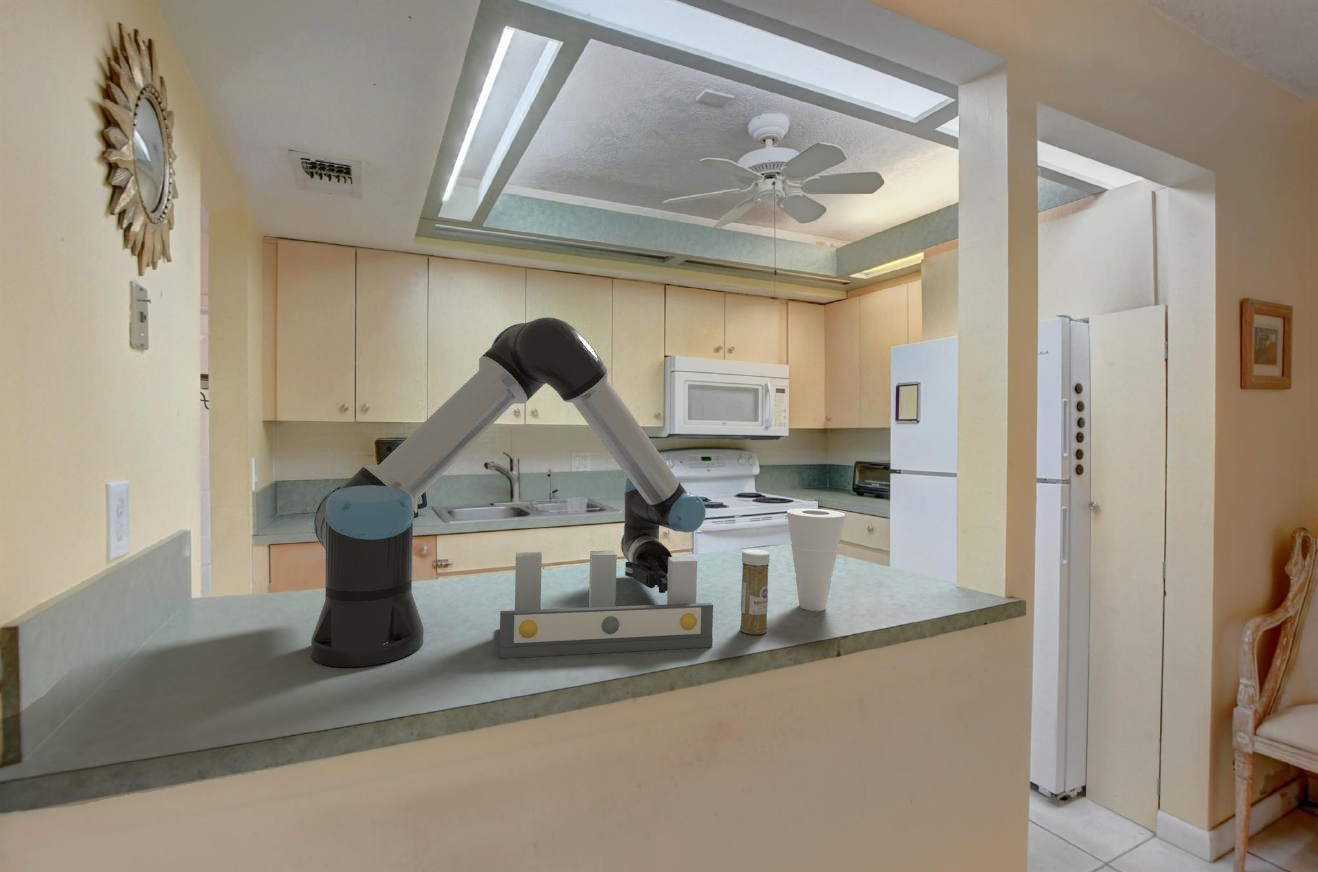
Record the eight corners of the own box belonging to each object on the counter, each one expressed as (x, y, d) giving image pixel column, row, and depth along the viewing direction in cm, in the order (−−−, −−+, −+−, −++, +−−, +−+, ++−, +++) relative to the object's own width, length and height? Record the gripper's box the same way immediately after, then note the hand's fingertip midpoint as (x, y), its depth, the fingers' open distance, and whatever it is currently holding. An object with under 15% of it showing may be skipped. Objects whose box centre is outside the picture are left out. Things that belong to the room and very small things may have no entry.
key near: (514, 625, 100) (515, 556, 99) (514, 619, 102) (515, 552, 102) (540, 624, 100) (541, 556, 100) (539, 618, 103) (541, 552, 103)
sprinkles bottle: (761, 637, 102) (764, 555, 102) (735, 632, 105) (737, 551, 104) (771, 629, 106) (773, 550, 106) (745, 624, 109) (748, 547, 108)
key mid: (590, 622, 102) (592, 555, 102) (588, 616, 105) (590, 551, 105) (615, 621, 103) (616, 554, 103) (612, 615, 106) (614, 550, 105)
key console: (499, 659, 91) (500, 614, 90) (502, 628, 104) (502, 588, 103) (712, 647, 97) (714, 605, 97) (690, 619, 110) (691, 582, 110)
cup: (773, 601, 123) (776, 509, 122) (819, 596, 126) (822, 507, 126) (804, 618, 113) (807, 518, 112) (853, 613, 116) (857, 516, 116)
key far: (670, 630, 99) (672, 561, 99) (666, 624, 102) (668, 557, 102) (695, 629, 100) (697, 560, 100) (690, 623, 103) (692, 556, 103)
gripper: (681, 576, 127) (717, 613, 104) (617, 578, 124) (639, 616, 101) (682, 539, 127) (718, 568, 104) (618, 540, 124) (641, 570, 101)
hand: (679, 592), depth 103 cm, fingers closed
